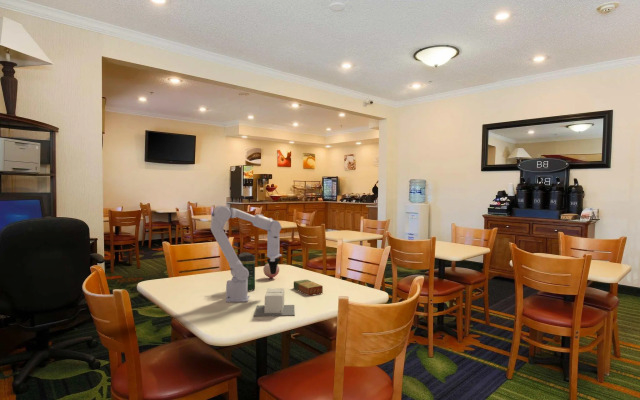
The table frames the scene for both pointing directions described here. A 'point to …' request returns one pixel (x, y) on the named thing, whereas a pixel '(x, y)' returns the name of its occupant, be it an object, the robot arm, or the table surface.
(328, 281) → the table surface
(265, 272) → the decorative fruit
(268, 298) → the supplement box
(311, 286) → the carton
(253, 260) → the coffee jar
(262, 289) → the table surface
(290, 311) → the mat
